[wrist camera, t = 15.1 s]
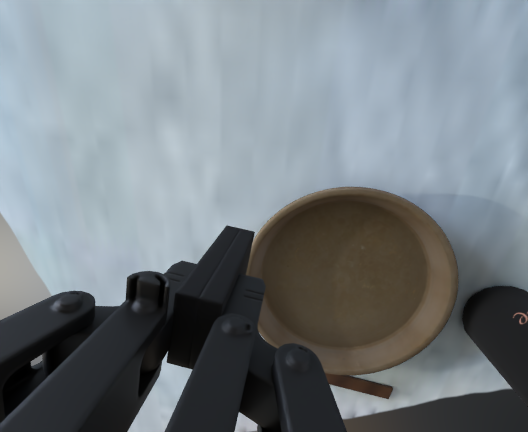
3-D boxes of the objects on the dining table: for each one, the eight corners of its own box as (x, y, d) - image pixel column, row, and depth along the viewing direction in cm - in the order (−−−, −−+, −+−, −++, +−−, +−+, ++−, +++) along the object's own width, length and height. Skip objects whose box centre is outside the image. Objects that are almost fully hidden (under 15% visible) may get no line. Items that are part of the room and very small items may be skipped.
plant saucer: (484, 219, 42) (505, 229, 37) (394, 378, 51) (403, 402, 47) (278, 155, 42) (276, 158, 38) (227, 323, 52) (220, 341, 47)
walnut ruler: (227, 356, 54) (226, 358, 54) (229, 345, 53) (229, 347, 53) (387, 397, 52) (388, 399, 52) (392, 386, 52) (393, 388, 51)
